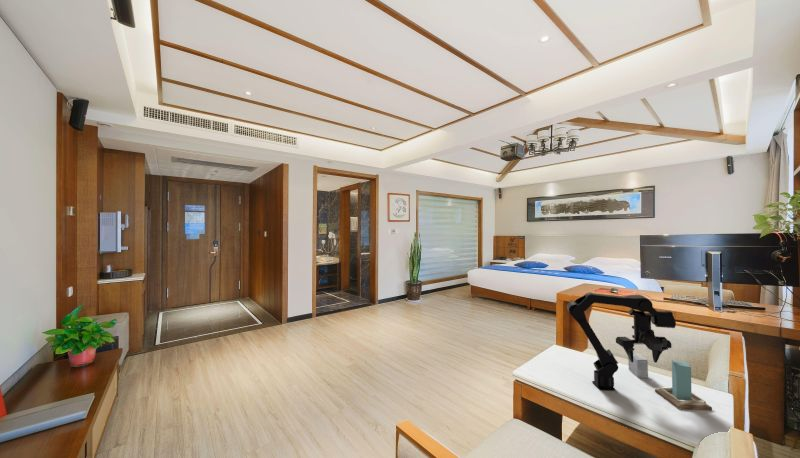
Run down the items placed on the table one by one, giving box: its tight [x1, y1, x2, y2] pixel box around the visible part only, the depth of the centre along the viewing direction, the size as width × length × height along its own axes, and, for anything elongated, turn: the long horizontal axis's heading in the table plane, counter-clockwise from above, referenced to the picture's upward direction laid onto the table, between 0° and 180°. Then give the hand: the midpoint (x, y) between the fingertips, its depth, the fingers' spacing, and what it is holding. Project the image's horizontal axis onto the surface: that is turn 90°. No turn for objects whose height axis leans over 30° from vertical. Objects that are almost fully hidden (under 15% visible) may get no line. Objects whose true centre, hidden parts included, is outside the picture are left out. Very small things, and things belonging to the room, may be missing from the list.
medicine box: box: [627, 352, 649, 379], centre depth 142 cm, size 8×4×9 cm, turn 168°
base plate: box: [654, 386, 713, 411], centre depth 120 cm, size 12×12×2 cm
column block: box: [671, 360, 692, 400], centre depth 120 cm, size 4×4×14 cm
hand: (643, 362), depth 126 cm, fingers open, 9 cm apart
